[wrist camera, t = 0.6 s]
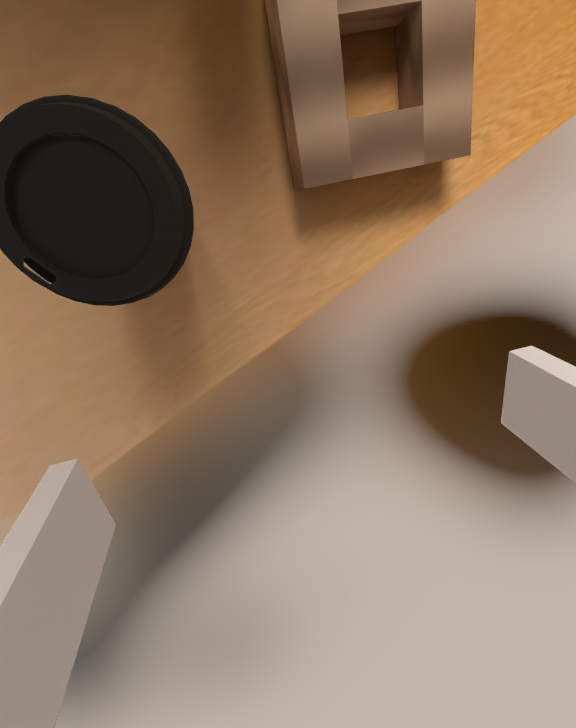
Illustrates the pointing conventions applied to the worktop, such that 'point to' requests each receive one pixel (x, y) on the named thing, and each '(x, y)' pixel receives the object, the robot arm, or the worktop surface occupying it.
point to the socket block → (415, 84)
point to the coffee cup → (91, 201)
